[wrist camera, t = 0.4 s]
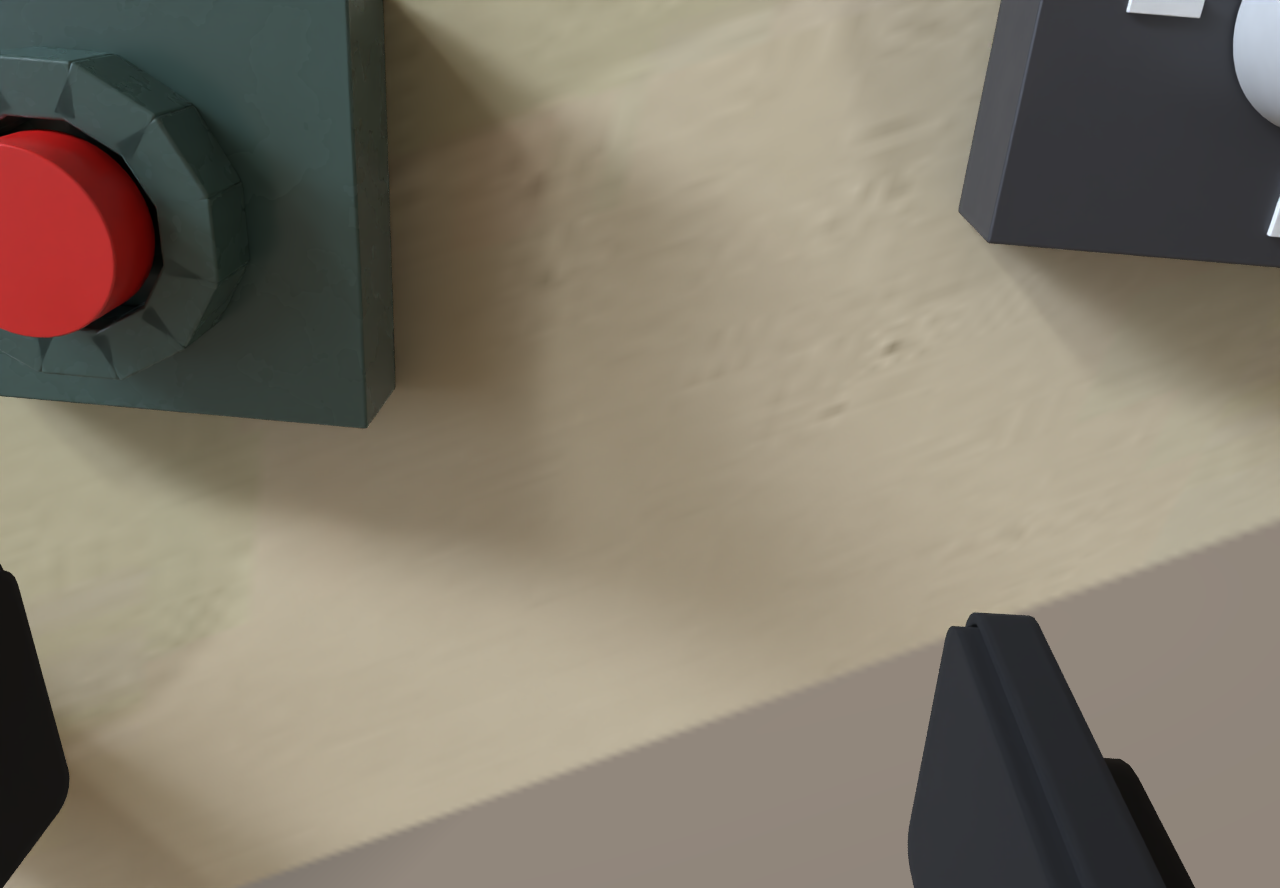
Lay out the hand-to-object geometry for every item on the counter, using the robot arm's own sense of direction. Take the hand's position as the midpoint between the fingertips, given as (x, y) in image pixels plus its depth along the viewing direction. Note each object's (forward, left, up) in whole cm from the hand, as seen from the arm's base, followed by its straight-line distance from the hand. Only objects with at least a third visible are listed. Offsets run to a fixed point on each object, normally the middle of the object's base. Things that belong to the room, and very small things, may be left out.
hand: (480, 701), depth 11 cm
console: (-1, -12, -18) cm, 21 cm away
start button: (-1, -12, -13) cm, 18 cm away
